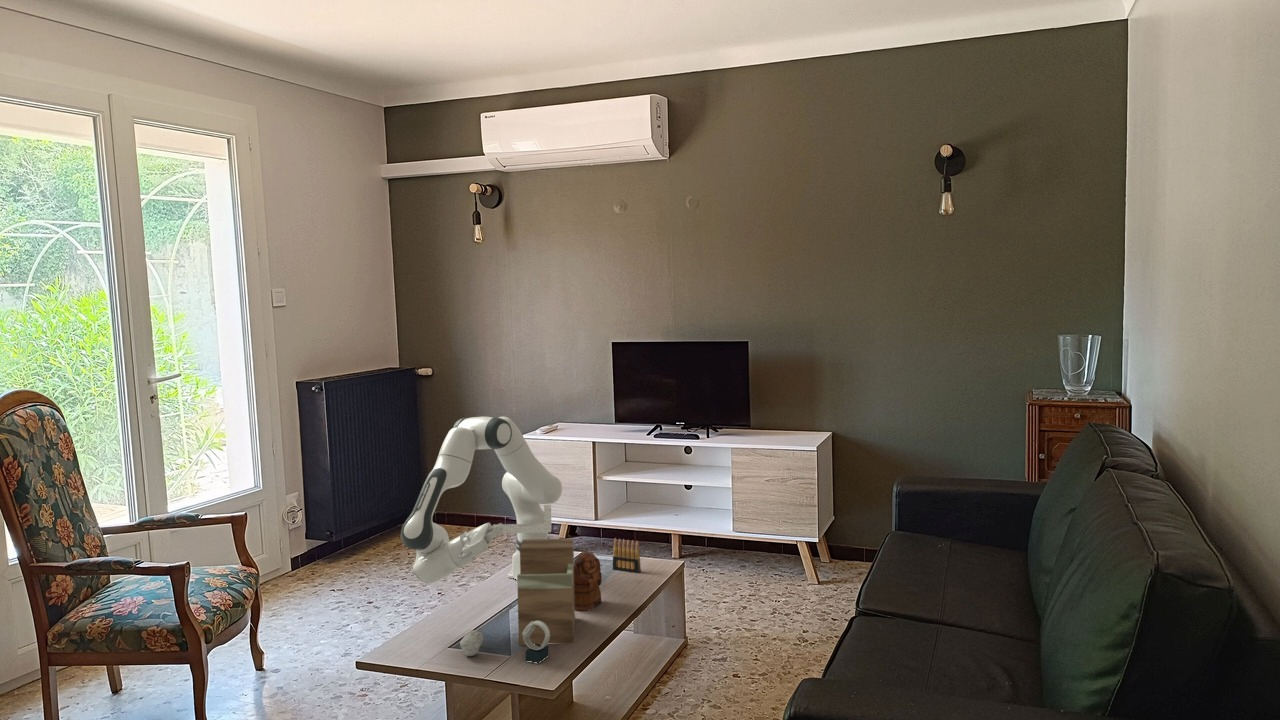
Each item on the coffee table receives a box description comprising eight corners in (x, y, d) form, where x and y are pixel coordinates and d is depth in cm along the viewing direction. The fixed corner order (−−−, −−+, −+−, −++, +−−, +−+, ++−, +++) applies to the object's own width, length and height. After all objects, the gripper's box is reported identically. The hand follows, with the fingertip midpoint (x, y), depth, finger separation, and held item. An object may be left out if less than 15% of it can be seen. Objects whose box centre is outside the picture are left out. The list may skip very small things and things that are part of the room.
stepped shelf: (524, 619, 281) (522, 539, 278) (574, 617, 281) (573, 538, 279) (518, 645, 261) (516, 559, 258) (573, 643, 261) (571, 558, 259)
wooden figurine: (585, 613, 285) (584, 559, 283) (569, 609, 288) (568, 556, 286) (605, 601, 295) (604, 549, 293) (590, 598, 298) (589, 546, 296)
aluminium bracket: (493, 530, 274) (492, 505, 273) (551, 529, 275) (551, 504, 274) (492, 533, 271) (491, 508, 270) (550, 532, 272) (550, 507, 271)
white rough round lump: (487, 654, 254) (487, 631, 254) (467, 662, 250) (466, 638, 249) (476, 648, 259) (475, 625, 258) (455, 655, 254) (454, 632, 253)
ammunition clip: (612, 569, 327) (612, 538, 326) (614, 568, 329) (614, 536, 328) (638, 573, 323) (638, 541, 322) (640, 571, 325) (640, 540, 323)
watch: (530, 652, 255) (529, 616, 254) (554, 657, 252) (553, 620, 251) (519, 660, 250) (518, 623, 249) (543, 665, 247) (543, 627, 246)
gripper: (452, 551, 262) (492, 528, 262) (462, 532, 282) (499, 510, 282) (463, 569, 262) (503, 546, 262) (473, 548, 283) (510, 526, 283)
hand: (501, 527), depth 272 cm, fingers closed on aluminium bracket, 3 cm apart
